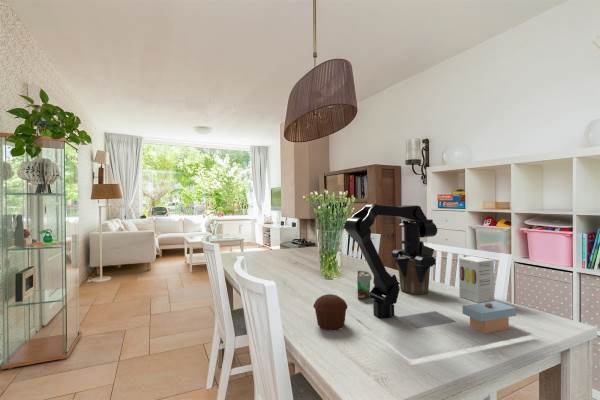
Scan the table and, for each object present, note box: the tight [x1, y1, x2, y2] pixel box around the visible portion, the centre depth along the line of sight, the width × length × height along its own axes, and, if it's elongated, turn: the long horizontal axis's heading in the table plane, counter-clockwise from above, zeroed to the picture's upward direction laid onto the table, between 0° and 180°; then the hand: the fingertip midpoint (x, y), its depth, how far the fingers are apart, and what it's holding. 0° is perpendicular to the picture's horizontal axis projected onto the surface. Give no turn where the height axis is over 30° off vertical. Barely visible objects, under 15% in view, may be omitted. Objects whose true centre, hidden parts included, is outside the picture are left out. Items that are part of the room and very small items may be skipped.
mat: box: [398, 310, 457, 329], centre depth 104 cm, size 16×10×1 cm, turn 107°
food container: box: [356, 270, 373, 300], centre depth 133 cm, size 12×6×10 cm, turn 168°
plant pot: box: [396, 255, 431, 295], centre depth 139 cm, size 16×16×16 cm
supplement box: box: [458, 255, 495, 304], centre depth 127 cm, size 10×9×17 cm
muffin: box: [313, 293, 348, 331], centre depth 103 cm, size 12×11×10 cm
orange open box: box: [469, 317, 510, 334], centre depth 97 cm, size 10×6×5 cm, turn 107°
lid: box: [461, 300, 517, 322], centre depth 97 cm, size 14×7×4 cm, turn 107°
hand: (412, 279), depth 114 cm, fingers open, 9 cm apart
